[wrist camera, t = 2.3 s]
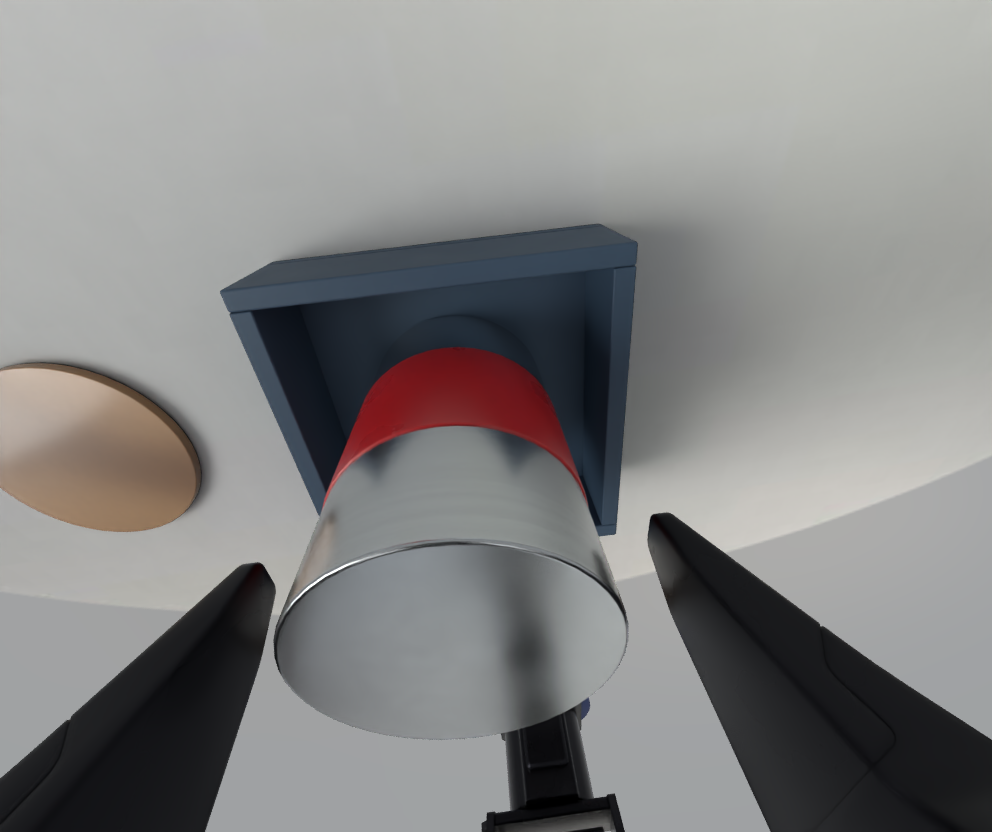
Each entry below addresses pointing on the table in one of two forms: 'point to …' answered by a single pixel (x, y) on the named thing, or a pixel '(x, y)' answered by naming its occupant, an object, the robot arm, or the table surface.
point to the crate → (436, 293)
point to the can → (452, 553)
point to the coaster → (92, 450)
